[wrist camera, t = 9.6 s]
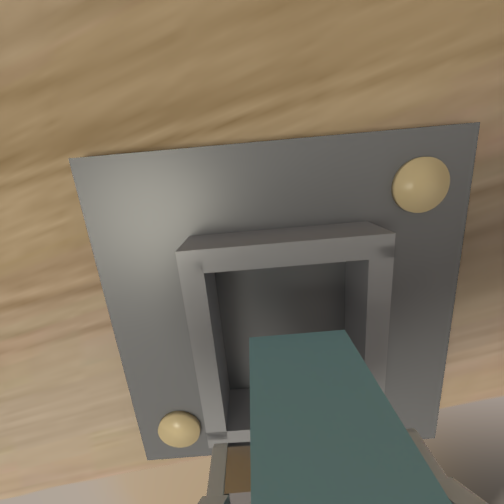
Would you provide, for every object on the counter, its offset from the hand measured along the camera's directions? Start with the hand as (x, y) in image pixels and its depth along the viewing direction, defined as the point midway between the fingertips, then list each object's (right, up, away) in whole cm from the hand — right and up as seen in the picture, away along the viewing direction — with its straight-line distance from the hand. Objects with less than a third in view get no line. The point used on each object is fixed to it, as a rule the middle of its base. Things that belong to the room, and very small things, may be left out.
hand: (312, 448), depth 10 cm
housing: (0, +3, +9) cm, 10 cm away
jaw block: (0, +1, +3) cm, 3 cm away
